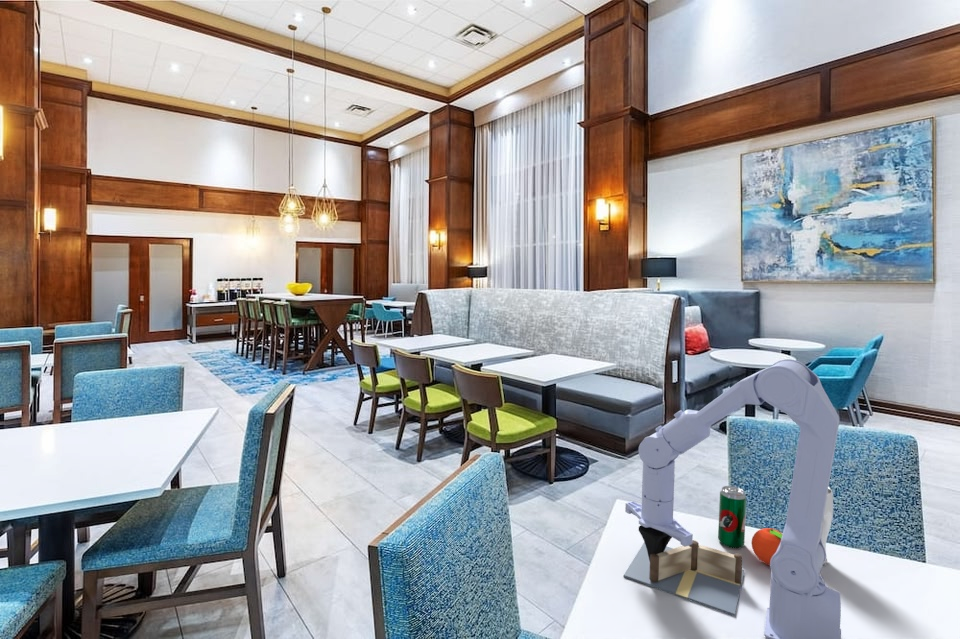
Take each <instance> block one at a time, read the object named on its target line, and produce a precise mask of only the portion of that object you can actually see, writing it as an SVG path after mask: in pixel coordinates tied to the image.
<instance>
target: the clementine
mask: <svg viewBox="0 0 960 639" xmlns="http://www.w3.org/2000/svg"><path fill="white" fill-rule="evenodd" d="M782 535H783V532H781V531H779V530H777V529H774V528H770V527H765V528H761V529H758V530H757V531H756V532H755V533H754V534H753V536H752V538H751V548H752V551H753V553H754V555H755V556H756V557H757V559H759V560H760V561H761V562H762V563H763V564H766V565H767V566H770V561H771V558H772V556H773V555H774V554H775V553H776V551H777V549H778V547H779V545H780V542H781V538H782Z"/></svg>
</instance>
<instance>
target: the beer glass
mask: <svg viewBox="0 0 960 639" xmlns="http://www.w3.org/2000/svg"><path fill="white" fill-rule="evenodd" d="M833 494H834V493H833V490H832V488H830V486H829V487H828V494H827V500H826V506H825V512H824V518H823V524H822V530H823V531H822V543H823V545H824V548H825V551H826V552H827V549H826V547H827V545H826V544H827V539H828V537H829V536H828V535H829V534H830V529H831V526H832V522H833V517H834V500H833V499H834V495H833ZM827 564H828V557H827V555H826V559H825V561H824V563H823V565H822V567H823V566H827Z"/></svg>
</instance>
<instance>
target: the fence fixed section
mask: <svg viewBox="0 0 960 639" xmlns="http://www.w3.org/2000/svg"><path fill="white" fill-rule="evenodd" d="M689 546H690V547H692V550H691V569H690V570H694V571H696V570H697V571H700V572H704V573H707V574H710V575H713V576H716V577H719V578H723V579H726V580H729V581H732V582H735V583H737V584H741V582H742V583H743V580H742V569H743V560H744V558H743V555H742V554H741V553H737V552H736V553H734V554H733V553H729V552H728V551H727V552H725V551H723V550H719V549H715V548H712V547H709V546H705V545H702V544H699V542H698V541H696V540H695V539H694V540H693V539H692V544H691V545H689ZM741 585H742V584H741Z"/></svg>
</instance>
